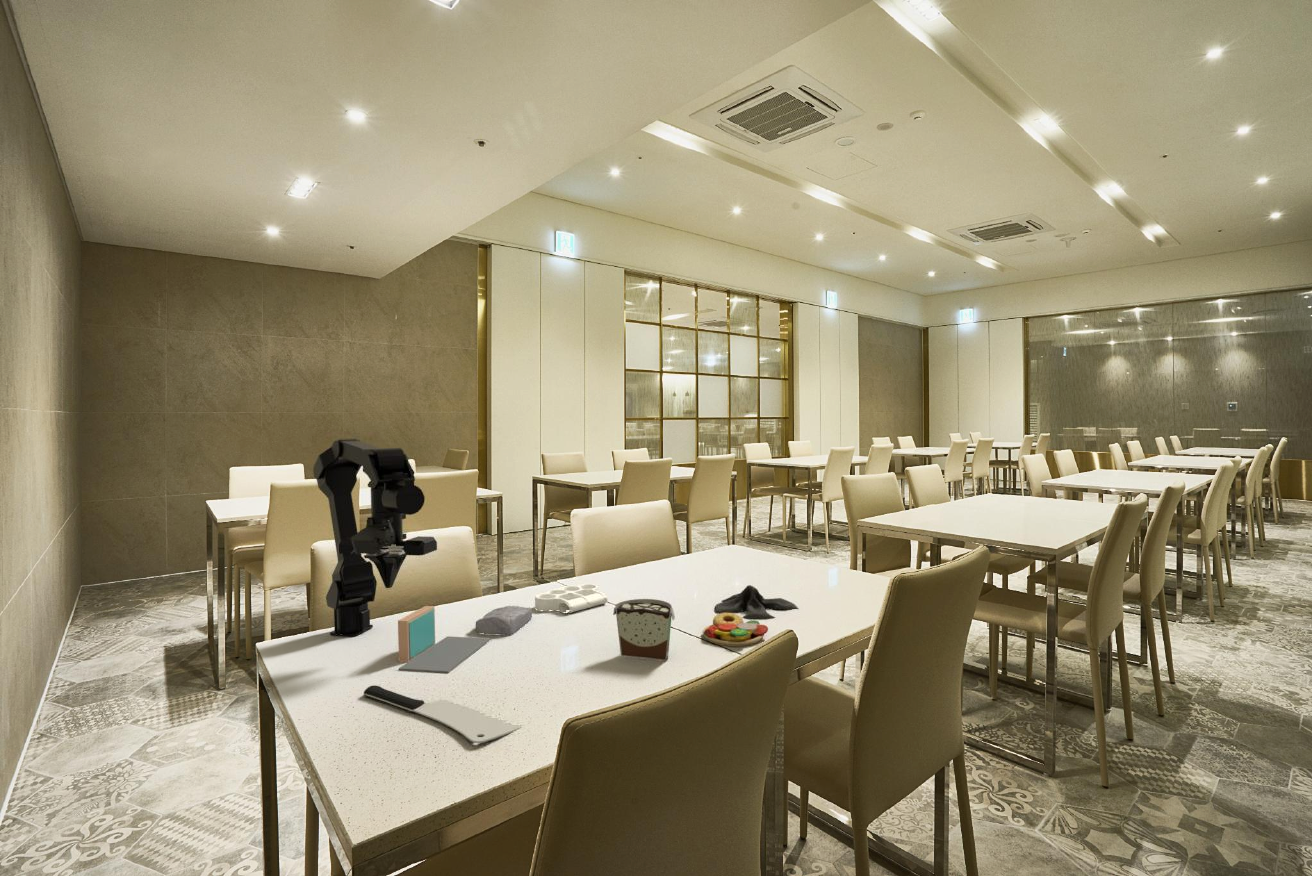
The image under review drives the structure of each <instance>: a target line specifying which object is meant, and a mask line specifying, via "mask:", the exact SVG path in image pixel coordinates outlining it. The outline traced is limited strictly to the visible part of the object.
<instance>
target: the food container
mask: <svg viewBox="0 0 1312 876" xmlns="http://www.w3.org/2000/svg"><path fill="white" fill-rule="evenodd" d="M614 606H615V607H614V608H613V614H612V615H614V616H615V617H616V623H617V624H616V625H617V632H618V633H617V634H618V641H619V651H620V657H624V656H625V657H626V658H635V659H642V658H643V659H644V660H653V661H661V662H662V661H663V662H668V660H669V654H670V652H669V651H670V639H671V627H672V621H675V618H676V616H675V612H674V608H673V606H672V604H671V603H670V602H668V601H664V600H661V599H655V598H654V599H653V598H635V599H627V600H624V601H623V600H622V601H620V602H617V603H616V604H615V605H614Z"/></svg>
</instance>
